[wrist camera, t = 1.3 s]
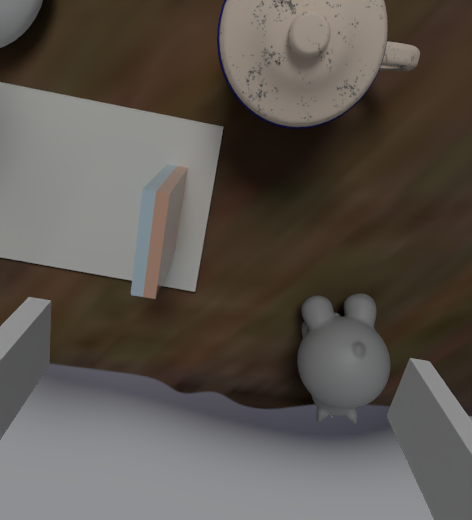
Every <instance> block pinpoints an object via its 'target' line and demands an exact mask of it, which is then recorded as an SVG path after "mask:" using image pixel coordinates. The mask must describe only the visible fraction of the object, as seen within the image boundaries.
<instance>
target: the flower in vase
mask: <svg viewBox="0 0 472 520" xmlns="http://www.w3.org/2000/svg"><path fill="white" fill-rule="evenodd" d="M42 2H43V0H0V48H1V47H4V46H6V45H8V44H10V43H12V42H14V41H15V40H16V39H18V38H19V37H20V36H21V35H23V34H24V32H25V31H26V30H27V29H28V28H29V27H30V26H31V24H32V23H33V21H34V20H35V18H36V16H37V14H38V12H39V10H40V8H41V5H42Z"/></svg>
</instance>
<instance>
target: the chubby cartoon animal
mask: <svg viewBox="0 0 472 520" xmlns="http://www.w3.org/2000/svg"><path fill="white" fill-rule="evenodd" d="M301 311H302V316H303V319H304V322H303V323H302V335H303V339H302V341H301V344H300V346H299V350H298V356H297V364H298V371H299V374H300V377H301V380H302V382H303V384H304V385H305V387H306V388H307V390H308V391H309V392H310V393H311V394H312V398H313V401H314V403H315V404H316V406H317V421H318V422H322V421H323V420H324V419H325V418H326V417H327V416H328V415H330V416H331V418H333V416H343V415H345V416H347V417H348V418H349V419H350V420H351V421H352V422H353V423H354V424H356V423H357V411H356V408H358V407H361V406H364V405H366V404H368V403H370V402H371V401H373V400H374V399H375V398H376V397H377V396H378V395H379V394H380V393H381V392H382V390H383V389H384V387H385V385H386V383H387V381H388V378H389V373H390V358H389V353H388V350H387V347H386V345H385V343H384V341H383V340H382V338H381V337H380V335H379V334H378V333H377V332H376V331H375V329H374V323H375V319H376V305H375V302H374V300H373V299H372V298H371V297H370V296H368V295H366V294H354V295H351V296H349V297H348V298H346V300H345V301H344V313H345V316H344V317H340V314H338V313H334V311H333V307H332V304H331V302H330V301H329V300H328V299H327V298H326V297H323V296H319V295H316V296H312V297H310V298H308V299H307V300H305V301H304V303H303V304H302V308H301Z"/></svg>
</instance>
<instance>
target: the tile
mask: <svg viewBox="0 0 472 520" xmlns="http://www.w3.org/2000/svg"><path fill="white" fill-rule="evenodd" d="M187 169H188V168H187V167H182V166H176V165H171V164H167V165H166V166H165V167H164V168H163V169H162V170H161V171H160V172H159V173H158V174H157V175H156V176H155V177H154V178H153V179H152V180H151V181H150V182H149V183H148V184H147V185H146V186H145V187H144V188H143V189H142V198H141V207H140V216H139V225H138V234H137V243H136V252H135V261H134V270H133V279H132V288H131V295H135V296H141V297H146V298H152V299H156V297H157V294H158V292H159V289H160V287H161V284H162V282H163V279H164V277H165V275H166V272H167V270H168V267H169V265H170V262H171V260H172V258H173V255H174V253H175V250H176V243H177V236H178V230H179V223H180V216H181V209H182V203H183V196H184V189H185V182H186V176H187Z"/></svg>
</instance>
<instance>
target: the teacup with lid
mask: <svg viewBox="0 0 472 520" xmlns="http://www.w3.org/2000/svg"><path fill="white" fill-rule="evenodd" d="M387 35H388V21H387V12H386V7H385V2H384V0H225V1H224V3H223V7H222V10H221V13H220V18H219V24H218V35H217V44H218V54H219V60H220V64H221V68H222V71H223V74H224V77H225V79H226V81H227V84H228V85H229V87H230V89H231V91H232V92H233V94H234V95H235V97H236V98H237V99H238V100H239V102H240V103H241V104H242V105H243V106H244V107H245V108H246V109H247V110H248V111H250V112H251V113H252V114H254V115H255V116H257V117H258V118H260V119H262V120H264V121H265V122H268V123H270V124H273V125H276V126H279V127H284V128H292V129H304V128H311V127H316V126H320V125H323V124H326V123H328V122H330V121H333V120H335V119H336V118H338V117H340V116H342V115H343V114H344V113H346V112H347V111H349V110H350V109H351V108H352V107H353V106H355V105H356V104H357V103H358V102H359V100H360V99H361V98H362V97H363V96H364V95H365V93H366V92H367V91H368V89H369V88H370V86H371V85H372V83H373V82H374V80H375V78H376V76H377V74H378V72H379V70H389V71H408V70H412V69H414V68H415V67H416V66H417V64H418V60H419V56H420V51H419V49H418V48H416V47H415V46H412V45H408V44H402V43H396V42H387Z"/></svg>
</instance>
